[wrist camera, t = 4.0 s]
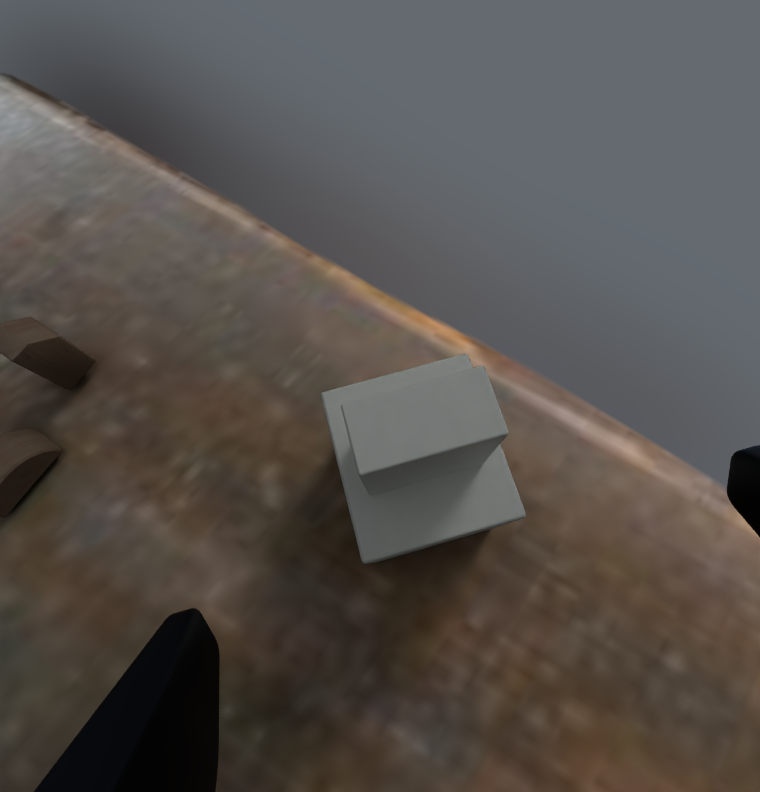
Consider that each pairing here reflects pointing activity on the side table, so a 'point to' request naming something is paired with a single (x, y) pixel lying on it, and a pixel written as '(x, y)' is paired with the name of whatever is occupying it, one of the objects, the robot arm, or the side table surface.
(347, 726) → the side table surface
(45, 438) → the wooden blocks
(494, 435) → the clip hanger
